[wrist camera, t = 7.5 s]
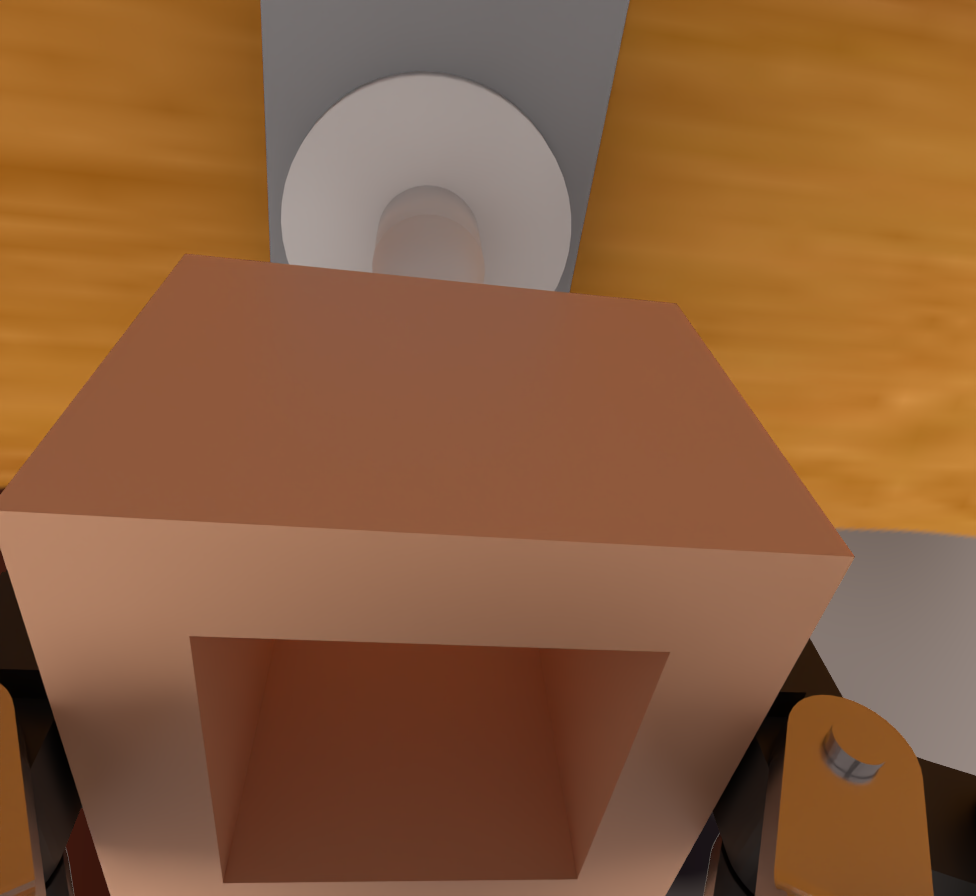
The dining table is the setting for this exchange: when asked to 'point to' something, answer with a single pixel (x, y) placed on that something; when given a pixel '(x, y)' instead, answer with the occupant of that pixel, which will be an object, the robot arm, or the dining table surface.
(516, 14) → the hub base
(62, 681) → the collar
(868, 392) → the dining table surface
